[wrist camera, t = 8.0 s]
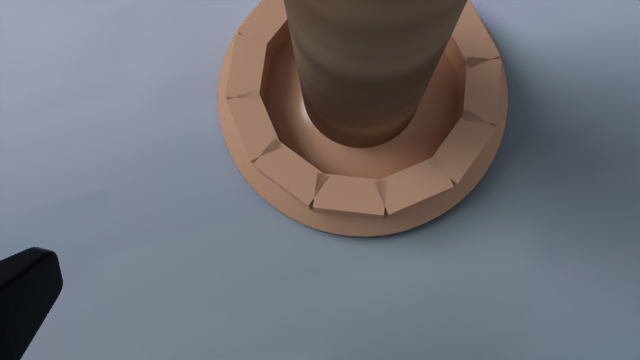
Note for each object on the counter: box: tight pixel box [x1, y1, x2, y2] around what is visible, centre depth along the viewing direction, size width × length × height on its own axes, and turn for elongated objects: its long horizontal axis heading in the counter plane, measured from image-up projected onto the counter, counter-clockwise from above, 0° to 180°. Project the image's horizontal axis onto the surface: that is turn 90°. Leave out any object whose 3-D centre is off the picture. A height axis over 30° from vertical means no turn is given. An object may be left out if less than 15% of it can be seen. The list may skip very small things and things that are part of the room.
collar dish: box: [218, 0, 508, 237], centre depth 18 cm, size 11×11×2 cm
